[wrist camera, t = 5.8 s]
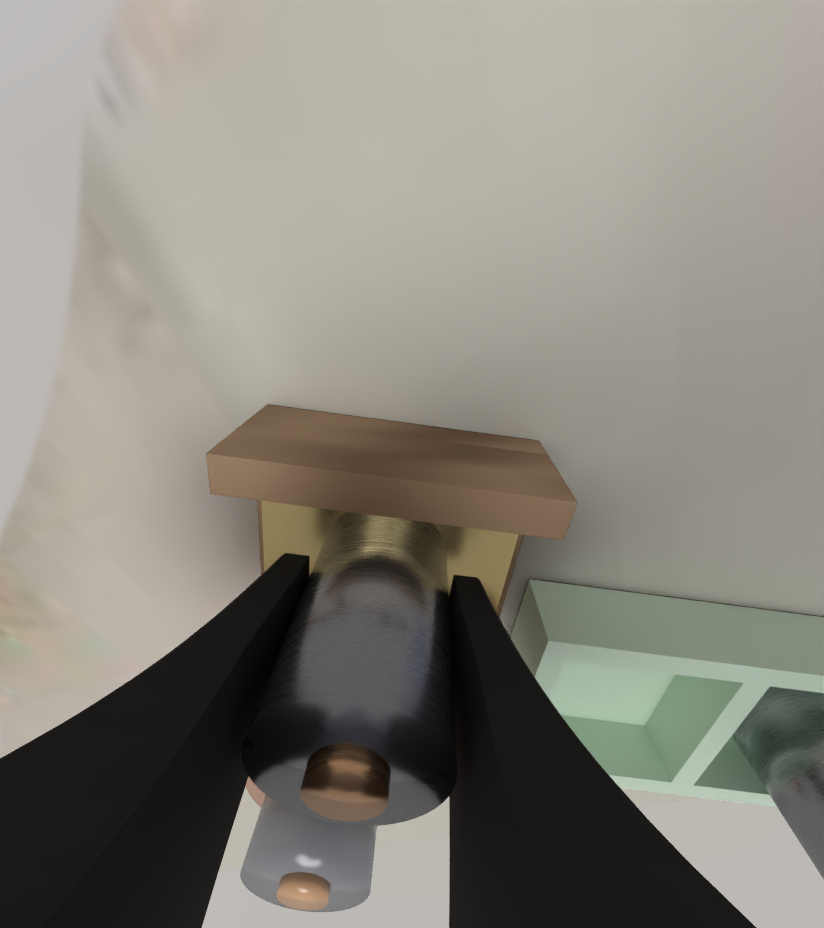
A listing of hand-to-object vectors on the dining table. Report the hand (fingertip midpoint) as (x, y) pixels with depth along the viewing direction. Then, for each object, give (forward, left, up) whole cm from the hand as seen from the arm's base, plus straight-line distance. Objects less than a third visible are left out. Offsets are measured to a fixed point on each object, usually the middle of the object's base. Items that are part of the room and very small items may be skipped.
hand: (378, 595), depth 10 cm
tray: (-12, +5, -3) cm, 13 cm away
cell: (0, 0, -2) cm, 2 cm away
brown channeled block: (0, 0, -3) cm, 3 cm away
